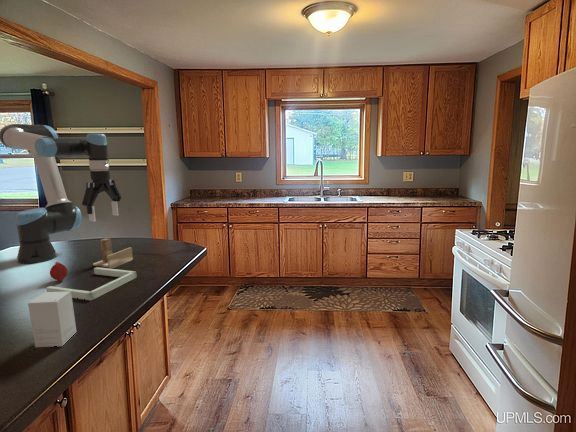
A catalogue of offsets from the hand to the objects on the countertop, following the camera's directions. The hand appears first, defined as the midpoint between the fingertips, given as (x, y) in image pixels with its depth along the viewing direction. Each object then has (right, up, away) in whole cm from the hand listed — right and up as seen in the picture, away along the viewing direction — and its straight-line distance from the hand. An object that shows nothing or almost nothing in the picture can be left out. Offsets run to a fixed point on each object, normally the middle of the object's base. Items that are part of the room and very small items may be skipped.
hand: (104, 218), depth 161 cm
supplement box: (+19, -33, -62) cm, 73 cm away
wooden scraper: (+2, -20, +3) cm, 21 cm away
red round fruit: (-8, -25, -19) cm, 32 cm away
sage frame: (+8, -25, -24) cm, 36 cm away
